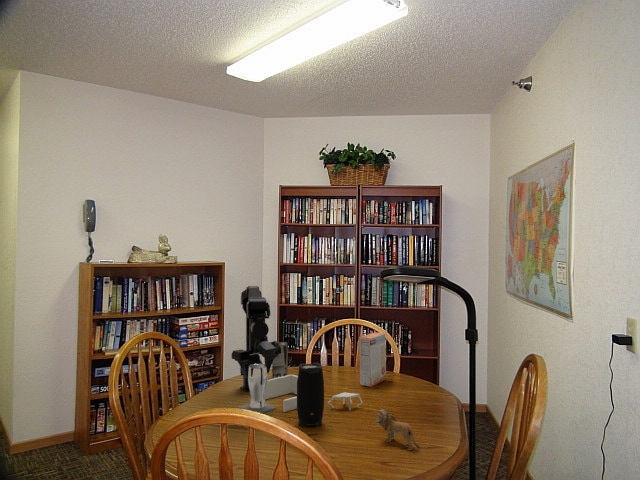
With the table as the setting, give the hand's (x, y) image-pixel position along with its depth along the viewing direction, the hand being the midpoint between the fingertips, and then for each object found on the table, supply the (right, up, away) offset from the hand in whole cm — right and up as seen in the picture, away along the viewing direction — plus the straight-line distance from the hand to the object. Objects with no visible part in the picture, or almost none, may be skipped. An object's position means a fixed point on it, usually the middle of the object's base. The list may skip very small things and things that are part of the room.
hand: (257, 375), depth 174 cm
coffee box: (+5, -13, +37) cm, 40 cm away
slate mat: (0, -12, 0) cm, 12 cm away
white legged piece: (+32, -13, +1) cm, 34 cm away
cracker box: (+46, -13, +34) cm, 59 cm away
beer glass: (0, -12, 0) cm, 12 cm away
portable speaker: (+20, -12, -15) cm, 27 cm away
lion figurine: (+46, -12, -30) cm, 56 cm away
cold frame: (+11, -12, +8) cm, 18 cm away
